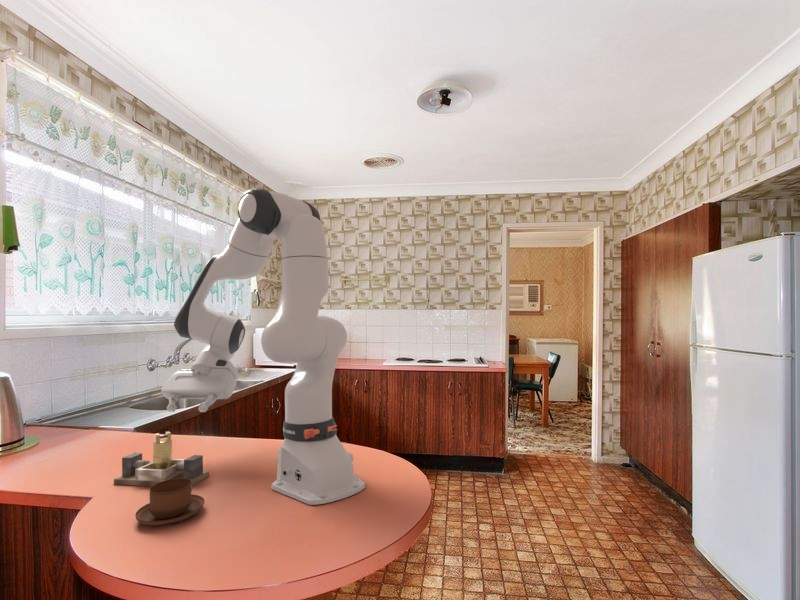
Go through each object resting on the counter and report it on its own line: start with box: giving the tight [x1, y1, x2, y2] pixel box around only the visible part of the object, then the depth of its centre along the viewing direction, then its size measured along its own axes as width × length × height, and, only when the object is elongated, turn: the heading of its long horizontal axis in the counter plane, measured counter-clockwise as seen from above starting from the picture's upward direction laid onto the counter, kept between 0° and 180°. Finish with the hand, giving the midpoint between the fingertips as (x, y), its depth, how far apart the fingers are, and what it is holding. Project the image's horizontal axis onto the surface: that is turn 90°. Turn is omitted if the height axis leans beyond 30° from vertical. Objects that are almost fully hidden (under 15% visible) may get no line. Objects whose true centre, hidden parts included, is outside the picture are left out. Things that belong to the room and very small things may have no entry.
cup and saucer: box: [135, 478, 205, 527], centre depth 83 cm, size 12×12×6 cm
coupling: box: [152, 431, 173, 469], centre depth 103 cm, size 4×4×10 cm
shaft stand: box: [113, 452, 210, 487], centre depth 103 cm, size 20×8×6 cm, turn 79°
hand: (185, 410), depth 112 cm, fingers open, 8 cm apart
